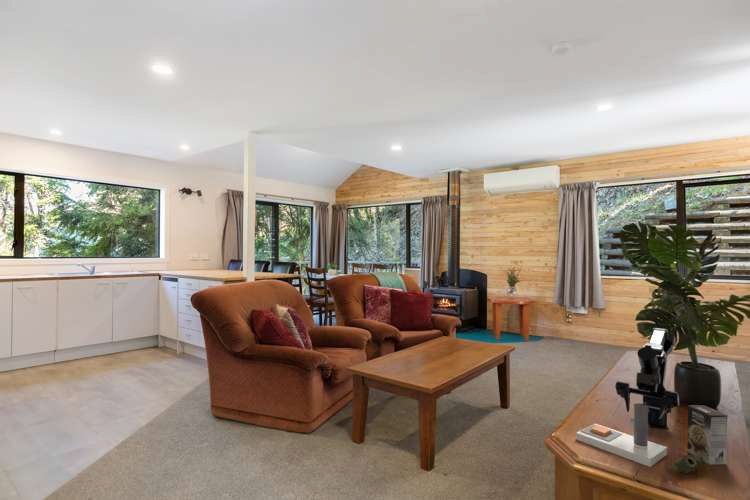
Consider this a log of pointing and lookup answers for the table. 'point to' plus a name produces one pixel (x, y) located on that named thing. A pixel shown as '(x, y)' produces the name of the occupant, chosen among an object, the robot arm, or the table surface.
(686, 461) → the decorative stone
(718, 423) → the coffee box
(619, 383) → the robot arm
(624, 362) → the table surface
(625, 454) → the panel
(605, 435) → the button
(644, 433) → the grey cylinder
